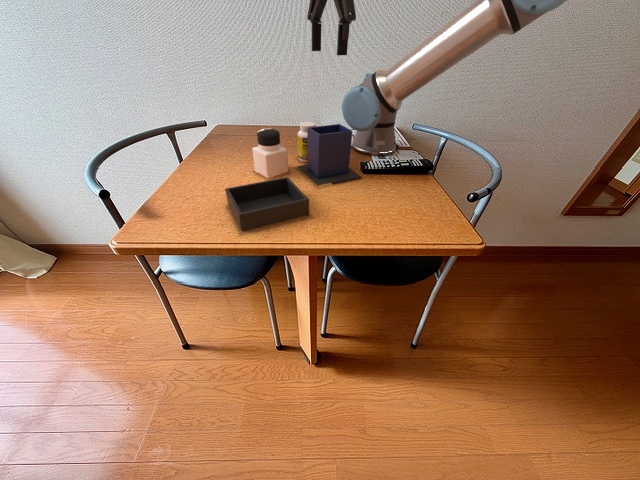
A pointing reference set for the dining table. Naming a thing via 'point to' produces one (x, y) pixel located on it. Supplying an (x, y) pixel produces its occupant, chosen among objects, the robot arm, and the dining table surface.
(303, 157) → the pill bottle
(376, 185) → the dining table surface
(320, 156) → the inner bin
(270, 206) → the bin
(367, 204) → the dining table surface
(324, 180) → the mat
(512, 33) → the robot arm
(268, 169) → the medicine bottle
